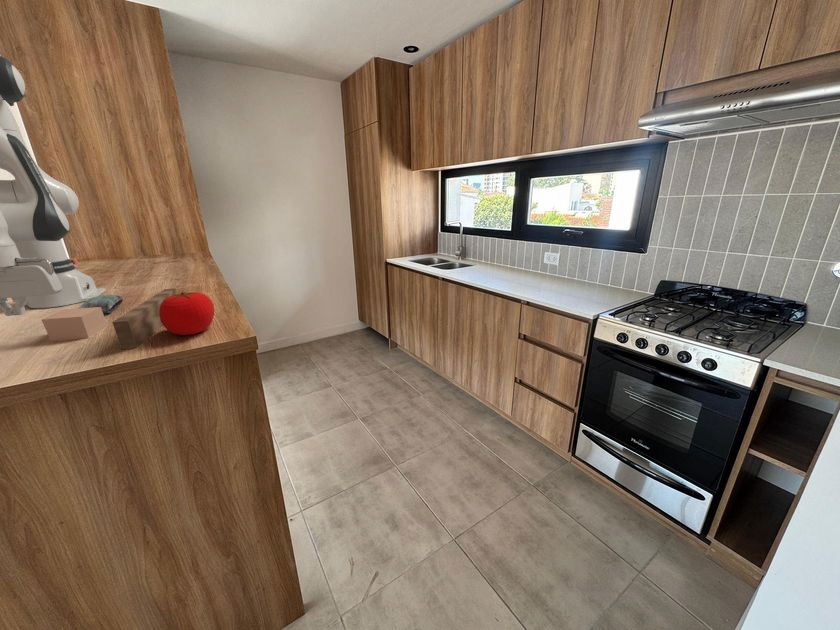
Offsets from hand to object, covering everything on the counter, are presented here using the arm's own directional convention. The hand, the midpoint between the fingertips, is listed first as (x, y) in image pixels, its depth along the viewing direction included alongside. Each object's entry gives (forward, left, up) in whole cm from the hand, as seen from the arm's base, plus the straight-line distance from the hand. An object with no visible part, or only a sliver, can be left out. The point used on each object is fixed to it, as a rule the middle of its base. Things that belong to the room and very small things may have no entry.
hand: (16, 314), depth 82 cm
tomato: (+6, +39, -7) cm, 40 cm away
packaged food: (-21, +6, -7) cm, 23 cm away
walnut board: (-1, +28, -7) cm, 28 cm away
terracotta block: (-1, +11, -7) cm, 13 cm away
